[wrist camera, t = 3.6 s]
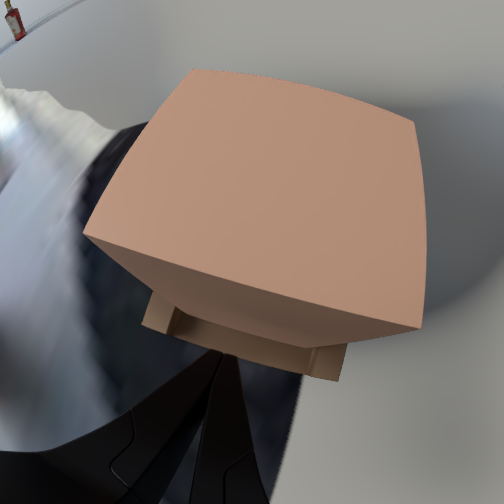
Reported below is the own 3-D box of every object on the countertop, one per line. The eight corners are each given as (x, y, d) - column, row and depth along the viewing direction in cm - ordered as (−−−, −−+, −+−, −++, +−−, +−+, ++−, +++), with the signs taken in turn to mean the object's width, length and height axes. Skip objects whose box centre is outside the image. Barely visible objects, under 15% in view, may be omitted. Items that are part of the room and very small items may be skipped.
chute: (328, 379, 14) (352, 385, 11) (152, 328, 15) (125, 319, 12) (361, 177, 20) (379, 144, 16) (228, 142, 21) (225, 105, 17)
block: (305, 348, 15) (420, 329, 4) (187, 314, 15) (82, 233, 5) (327, 252, 17) (413, 121, 6) (219, 223, 17) (192, 69, 7)
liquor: (13, 44, 53) (-3, 7, 27) (20, 38, 56) (6, 1, 30) (22, 38, 54) (7, -1, 27) (30, 32, 56) (16, -6, 30)
